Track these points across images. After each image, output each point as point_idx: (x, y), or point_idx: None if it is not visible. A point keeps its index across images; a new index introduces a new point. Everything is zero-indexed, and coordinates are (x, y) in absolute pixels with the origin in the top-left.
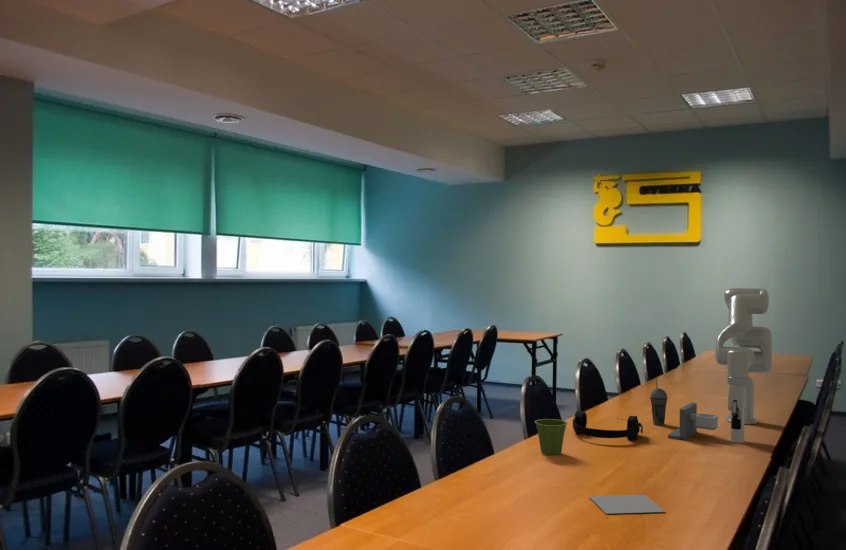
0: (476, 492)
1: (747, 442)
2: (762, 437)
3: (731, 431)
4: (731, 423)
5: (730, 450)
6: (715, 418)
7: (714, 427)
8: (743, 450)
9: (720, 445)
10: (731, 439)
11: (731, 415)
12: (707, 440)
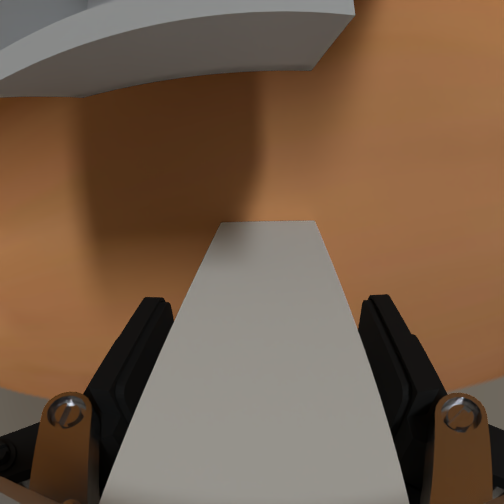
0: None
1: None
2: (469, 352)
3: (203, 263)
4: (123, 332)
5: (6, 274)
6: (94, 53)
7: (101, 87)
8: (53, 329)
9: (48, 194)
10: (219, 231)
11: (134, 422)
12: None
